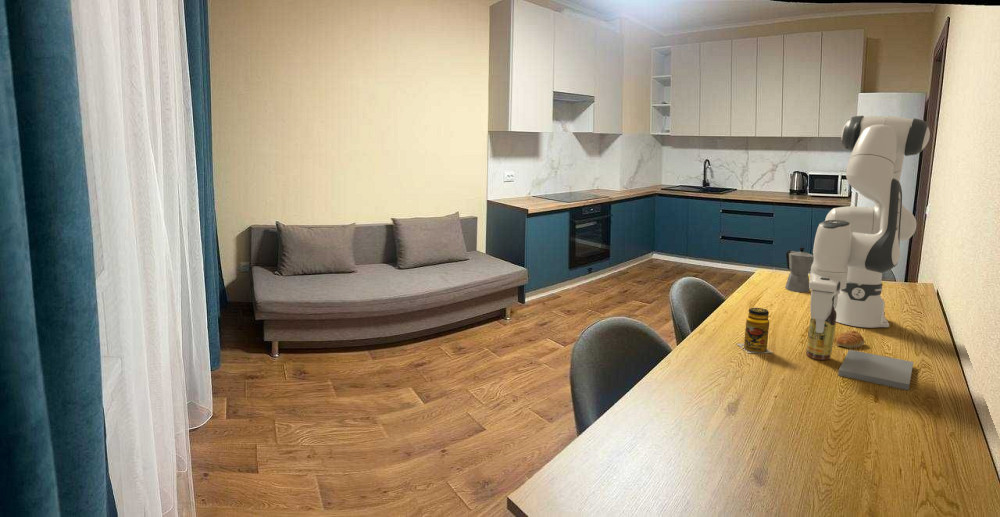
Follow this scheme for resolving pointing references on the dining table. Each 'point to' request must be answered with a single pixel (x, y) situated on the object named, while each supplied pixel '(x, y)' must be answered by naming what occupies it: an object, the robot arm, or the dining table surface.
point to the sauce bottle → (821, 337)
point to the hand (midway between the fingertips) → (822, 329)
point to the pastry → (850, 339)
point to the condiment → (756, 331)
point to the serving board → (877, 369)
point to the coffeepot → (798, 270)
